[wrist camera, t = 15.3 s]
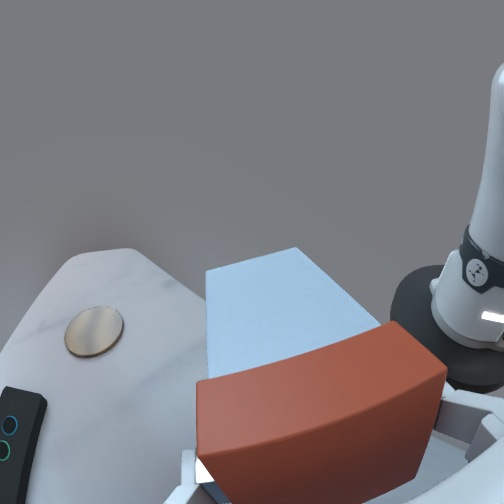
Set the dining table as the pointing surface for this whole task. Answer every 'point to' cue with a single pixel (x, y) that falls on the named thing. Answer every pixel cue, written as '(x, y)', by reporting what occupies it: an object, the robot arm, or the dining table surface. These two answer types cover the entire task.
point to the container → (308, 389)
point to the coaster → (94, 331)
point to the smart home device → (18, 440)
